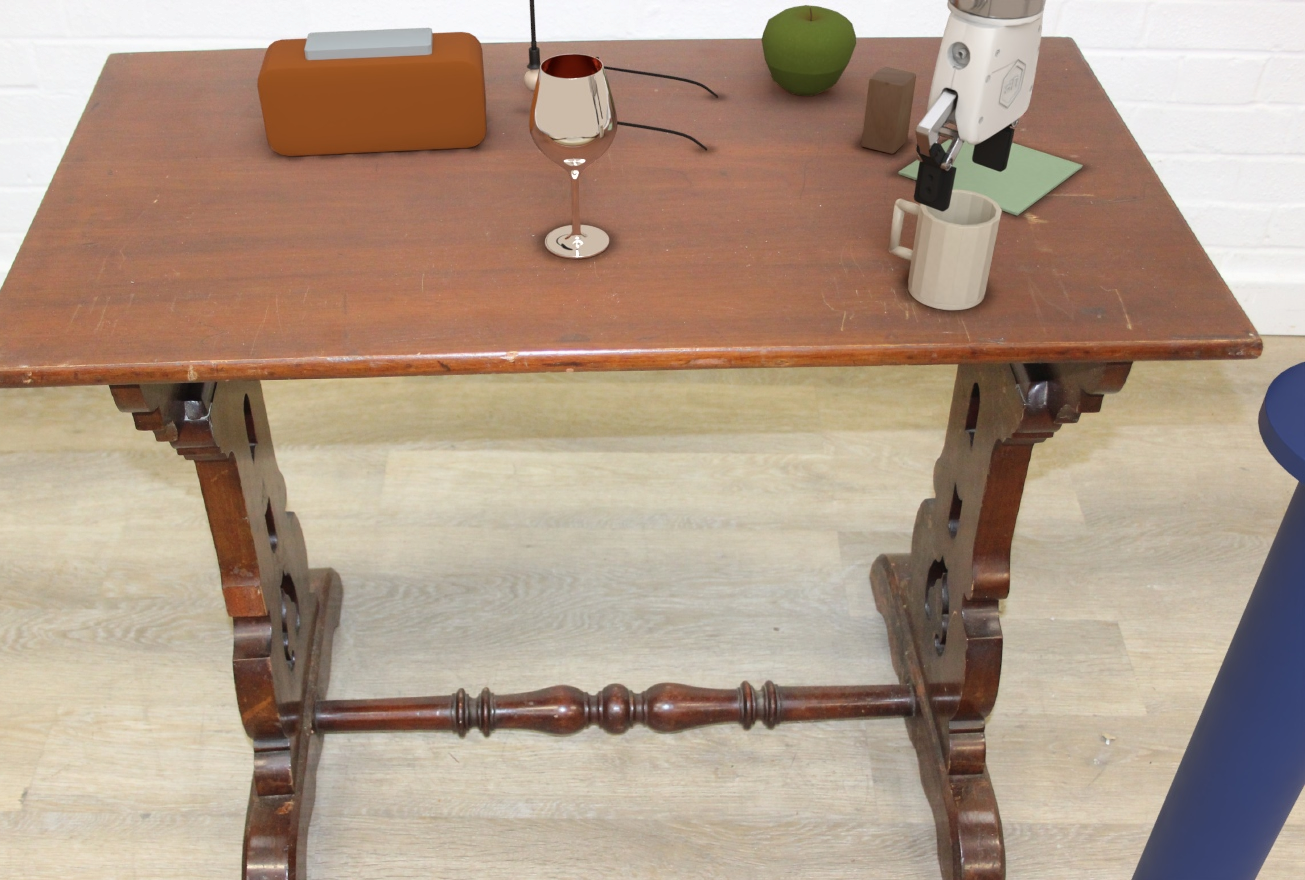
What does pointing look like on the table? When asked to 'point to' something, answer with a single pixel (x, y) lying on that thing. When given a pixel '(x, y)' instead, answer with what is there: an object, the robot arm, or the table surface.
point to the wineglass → (573, 136)
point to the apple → (808, 48)
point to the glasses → (668, 78)
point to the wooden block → (888, 109)
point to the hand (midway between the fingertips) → (960, 185)
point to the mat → (1007, 176)
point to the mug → (949, 249)
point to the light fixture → (532, 54)
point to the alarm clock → (373, 92)
